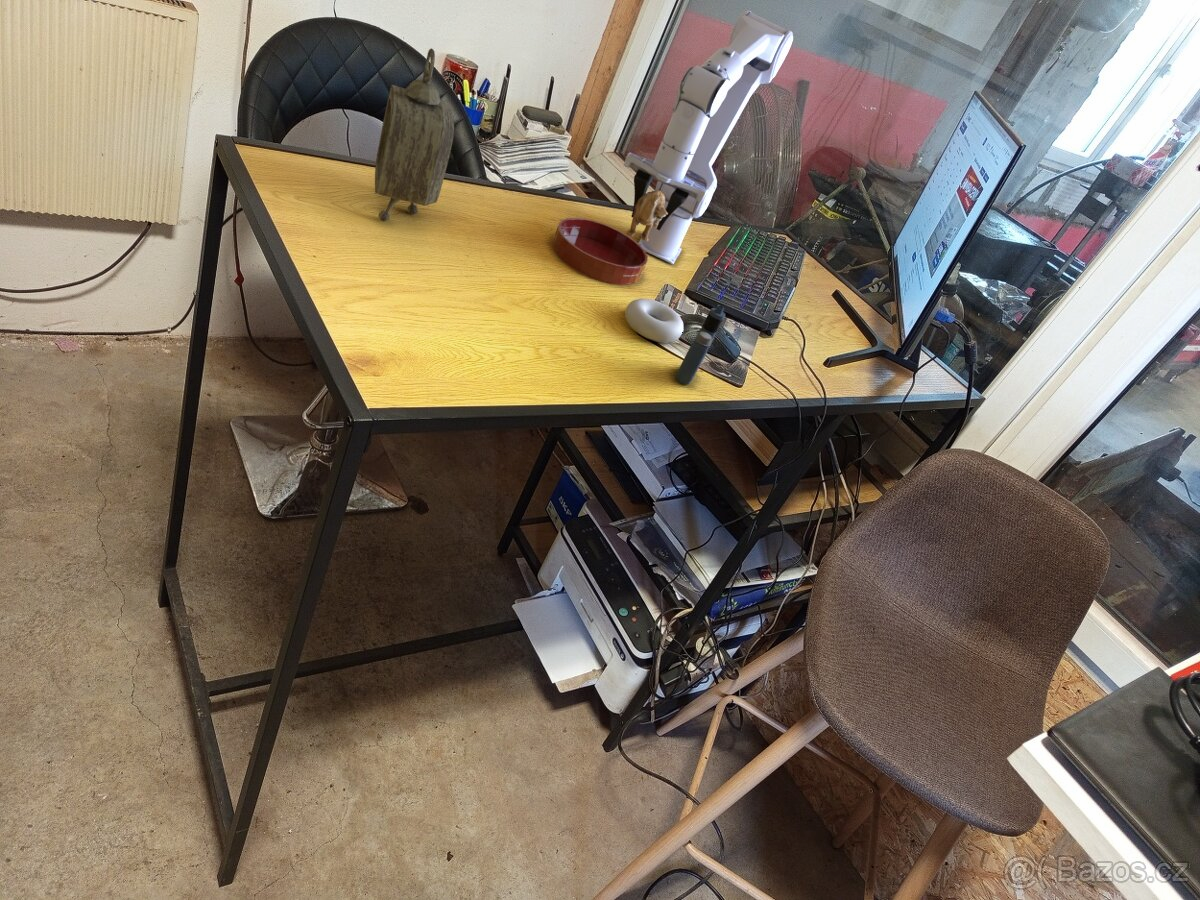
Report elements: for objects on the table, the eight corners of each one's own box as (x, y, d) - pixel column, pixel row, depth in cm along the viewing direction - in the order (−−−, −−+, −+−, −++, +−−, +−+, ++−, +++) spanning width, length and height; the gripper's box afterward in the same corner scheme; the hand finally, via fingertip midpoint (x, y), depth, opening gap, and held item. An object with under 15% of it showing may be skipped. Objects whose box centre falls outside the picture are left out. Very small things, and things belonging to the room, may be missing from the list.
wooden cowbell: (370, 185, 129) (401, 27, 115) (425, 199, 132) (461, 47, 118) (371, 223, 118) (405, 55, 104) (429, 238, 122) (470, 77, 108)
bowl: (567, 225, 147) (574, 208, 145) (648, 264, 146) (655, 248, 144) (539, 252, 133) (545, 234, 131) (628, 295, 132) (636, 278, 130)
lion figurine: (652, 252, 129) (672, 202, 124) (622, 241, 129) (641, 190, 124) (658, 223, 141) (677, 176, 136) (631, 212, 141) (648, 165, 135)
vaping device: (695, 373, 120) (730, 308, 113) (688, 387, 115) (724, 320, 108) (680, 366, 120) (714, 300, 113) (672, 379, 115) (707, 312, 109)
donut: (616, 329, 122) (675, 354, 122) (624, 311, 120) (683, 336, 120) (627, 305, 130) (682, 328, 130) (634, 287, 128) (690, 311, 128)
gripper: (633, 131, 123) (602, 209, 131) (714, 171, 123) (679, 247, 131) (642, 124, 129) (613, 199, 137) (721, 162, 129) (687, 235, 137)
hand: (646, 222), depth 134 cm, fingers closed on lion figurine, 4 cm apart
